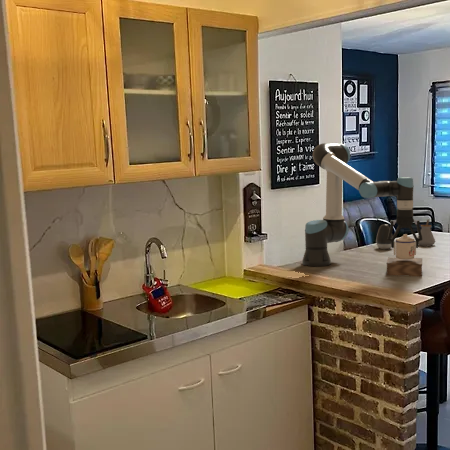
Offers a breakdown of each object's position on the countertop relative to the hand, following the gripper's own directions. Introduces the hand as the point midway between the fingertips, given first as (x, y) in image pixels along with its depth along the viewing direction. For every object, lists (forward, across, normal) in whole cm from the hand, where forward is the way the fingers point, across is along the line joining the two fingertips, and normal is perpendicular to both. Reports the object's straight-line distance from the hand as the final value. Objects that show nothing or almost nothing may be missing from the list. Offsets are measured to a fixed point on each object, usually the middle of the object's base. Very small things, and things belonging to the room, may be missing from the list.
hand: (404, 254), depth 288 cm
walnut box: (+9, 0, 0) cm, 9 cm away
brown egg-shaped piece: (+9, -5, +74) cm, 75 cm away
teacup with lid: (+2, 0, 0) cm, 2 cm away
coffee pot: (+9, +22, +92) cm, 95 cm away
